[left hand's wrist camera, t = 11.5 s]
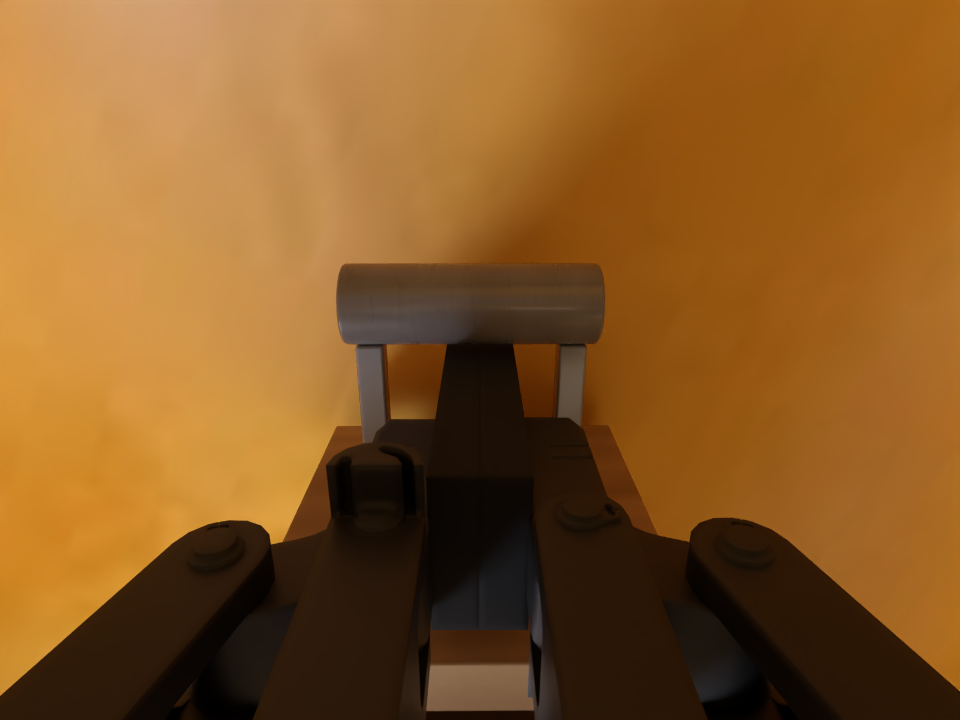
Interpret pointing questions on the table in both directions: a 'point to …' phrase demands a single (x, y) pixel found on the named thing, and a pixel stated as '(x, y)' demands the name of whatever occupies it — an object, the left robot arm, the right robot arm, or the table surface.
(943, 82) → the table surface
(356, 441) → the drawer
